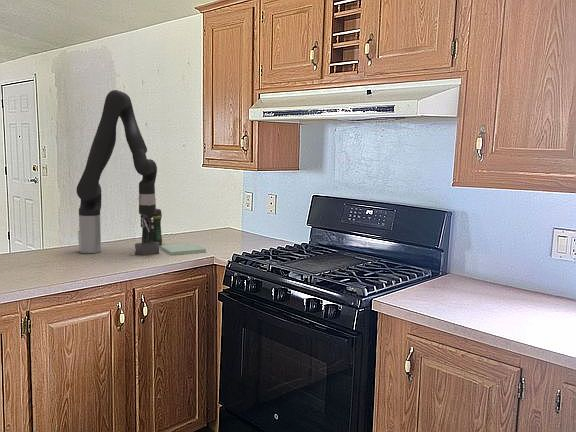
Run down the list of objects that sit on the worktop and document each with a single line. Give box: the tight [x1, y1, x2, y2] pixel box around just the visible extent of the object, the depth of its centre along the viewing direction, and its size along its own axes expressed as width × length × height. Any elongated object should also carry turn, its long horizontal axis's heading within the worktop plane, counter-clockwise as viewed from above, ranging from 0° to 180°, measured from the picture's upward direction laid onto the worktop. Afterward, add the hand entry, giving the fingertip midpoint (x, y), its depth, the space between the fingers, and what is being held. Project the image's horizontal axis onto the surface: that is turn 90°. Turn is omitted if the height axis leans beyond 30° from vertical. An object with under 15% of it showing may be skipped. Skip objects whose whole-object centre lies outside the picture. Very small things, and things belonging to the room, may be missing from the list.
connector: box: [128, 242, 160, 257], centre depth 240 cm, size 13×4×5 cm, turn 122°
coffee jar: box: [140, 208, 163, 247], centre depth 260 cm, size 10×8×19 cm
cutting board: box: [159, 242, 207, 257], centre depth 250 cm, size 17×16×2 cm
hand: (148, 238), depth 240 cm, fingers open, 8 cm apart
